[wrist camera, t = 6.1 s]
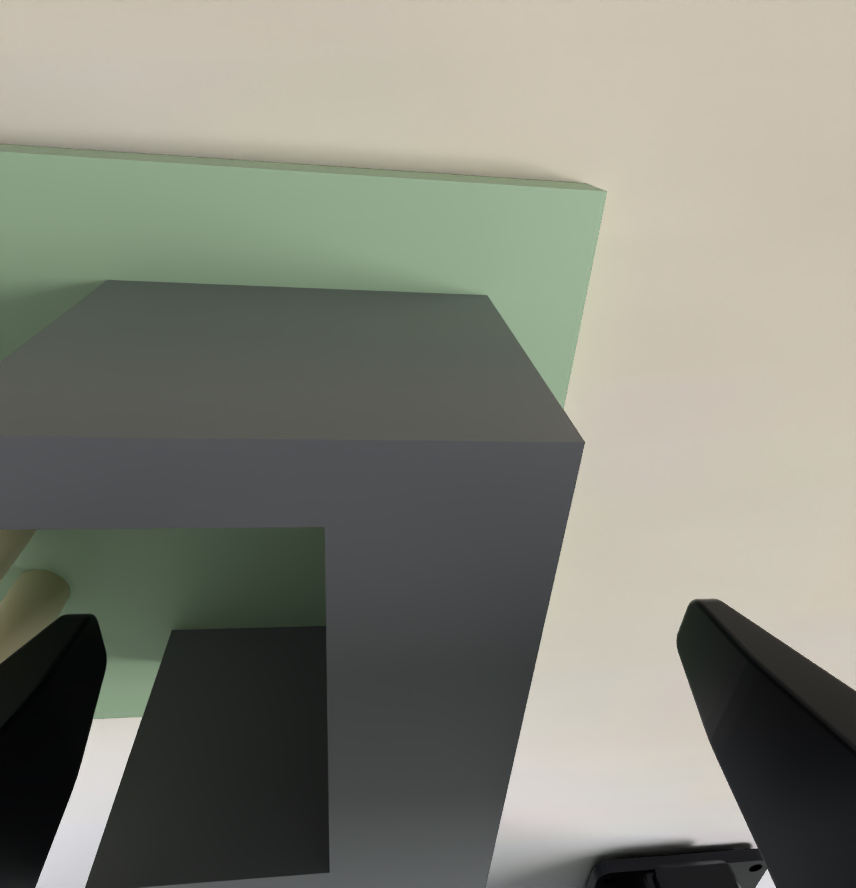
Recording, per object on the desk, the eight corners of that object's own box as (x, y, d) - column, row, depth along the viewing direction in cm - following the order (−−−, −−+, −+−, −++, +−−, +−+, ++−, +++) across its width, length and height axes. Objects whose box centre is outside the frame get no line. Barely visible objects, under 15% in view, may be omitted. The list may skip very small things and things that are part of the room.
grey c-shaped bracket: (487, 295, 10) (584, 441, 6) (444, 653, 14) (483, 892, 10) (107, 279, 10) (-96, 435, 5) (177, 662, 14) (97, 925, 9)
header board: (497, 668, 16) (548, 875, 12) (11, 686, 15) (-129, 930, 11) (585, 183, 11) (748, 246, 6) (-202, 130, 9) (-714, 166, 5)
